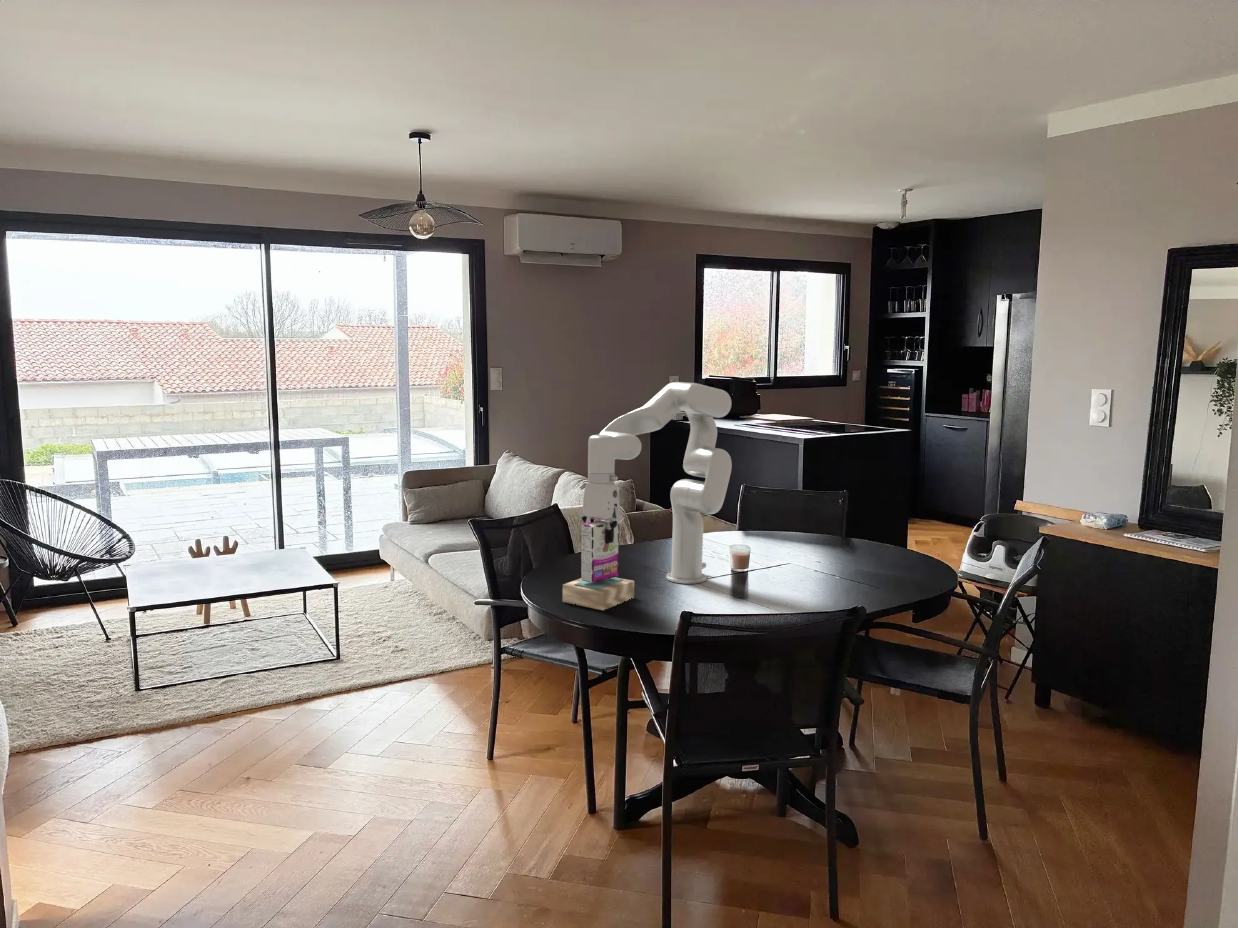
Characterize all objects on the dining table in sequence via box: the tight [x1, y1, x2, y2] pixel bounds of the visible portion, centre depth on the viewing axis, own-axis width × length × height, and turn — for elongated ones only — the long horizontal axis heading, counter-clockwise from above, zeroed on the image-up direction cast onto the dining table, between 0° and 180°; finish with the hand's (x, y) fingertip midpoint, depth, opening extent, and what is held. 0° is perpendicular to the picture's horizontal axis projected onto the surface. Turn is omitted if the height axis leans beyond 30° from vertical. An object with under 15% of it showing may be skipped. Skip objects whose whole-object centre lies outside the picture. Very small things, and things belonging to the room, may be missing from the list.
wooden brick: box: [561, 577, 635, 611], centre depth 264 cm, size 16×14×5 cm
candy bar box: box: [580, 519, 620, 583], centre depth 263 cm, size 11×5×16 cm, turn 138°
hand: (600, 540), depth 263 cm, fingers closed on candy bar box, 5 cm apart
